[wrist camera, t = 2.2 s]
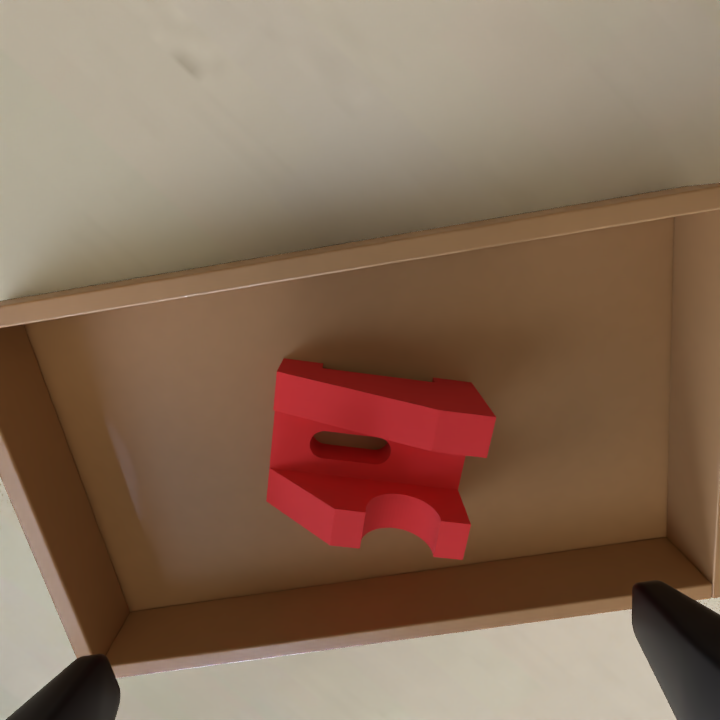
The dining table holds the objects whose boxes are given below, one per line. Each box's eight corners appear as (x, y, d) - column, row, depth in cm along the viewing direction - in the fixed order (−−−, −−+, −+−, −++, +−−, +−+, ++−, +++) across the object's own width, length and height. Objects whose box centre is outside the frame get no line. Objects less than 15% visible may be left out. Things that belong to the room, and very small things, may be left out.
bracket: (471, 382, 16) (496, 417, 14) (445, 504, 18) (462, 560, 15) (283, 358, 16) (268, 388, 13) (271, 484, 17) (254, 537, 15)
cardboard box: (687, 185, 15) (760, 178, 12) (676, 541, 19) (730, 596, 16) (3, 300, 16) (-69, 316, 13) (123, 619, 19) (86, 683, 17)
